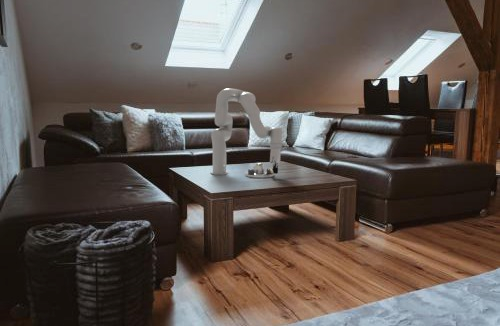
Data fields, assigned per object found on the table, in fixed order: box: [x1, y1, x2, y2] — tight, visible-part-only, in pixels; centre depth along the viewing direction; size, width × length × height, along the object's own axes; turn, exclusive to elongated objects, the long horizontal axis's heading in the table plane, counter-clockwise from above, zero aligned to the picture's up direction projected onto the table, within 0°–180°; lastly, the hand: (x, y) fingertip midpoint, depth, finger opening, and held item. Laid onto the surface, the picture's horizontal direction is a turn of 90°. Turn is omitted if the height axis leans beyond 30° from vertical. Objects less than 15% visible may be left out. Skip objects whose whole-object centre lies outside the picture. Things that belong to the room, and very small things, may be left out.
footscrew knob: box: [266, 167, 273, 174], centre depth 270 cm, size 14×4×4 cm, turn 5°
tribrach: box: [244, 162, 275, 179], centre depth 277 cm, size 20×20×9 cm
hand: (275, 173), depth 269 cm, fingers closed
